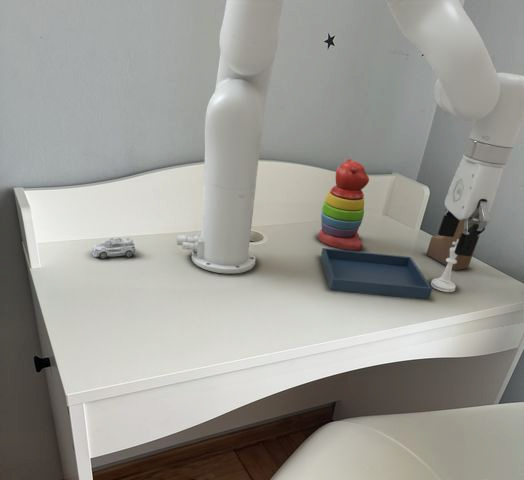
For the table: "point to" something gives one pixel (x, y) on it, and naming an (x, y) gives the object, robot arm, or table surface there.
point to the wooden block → (442, 245)
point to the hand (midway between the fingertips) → (453, 244)
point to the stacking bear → (344, 208)
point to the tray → (374, 274)
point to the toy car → (114, 248)
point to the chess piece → (446, 273)
